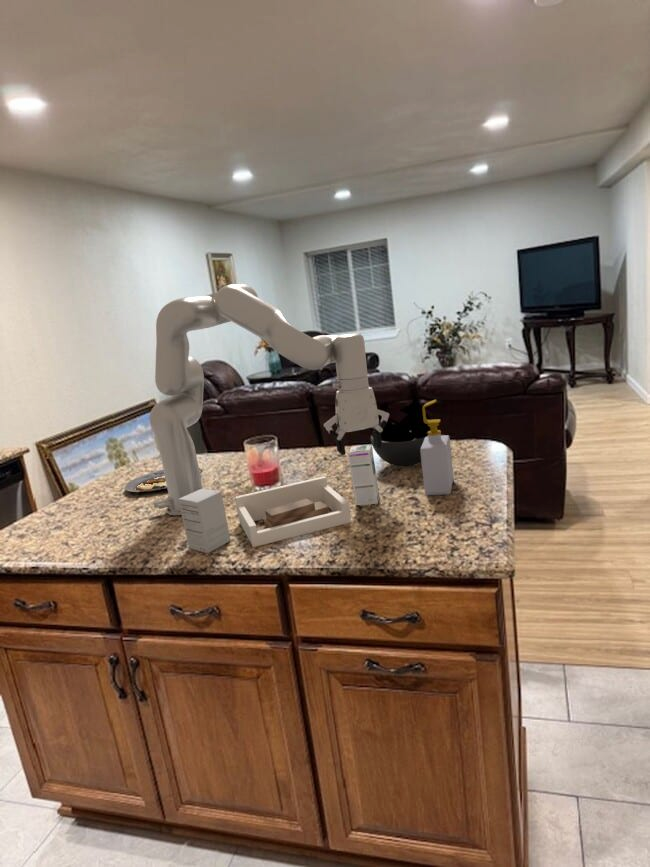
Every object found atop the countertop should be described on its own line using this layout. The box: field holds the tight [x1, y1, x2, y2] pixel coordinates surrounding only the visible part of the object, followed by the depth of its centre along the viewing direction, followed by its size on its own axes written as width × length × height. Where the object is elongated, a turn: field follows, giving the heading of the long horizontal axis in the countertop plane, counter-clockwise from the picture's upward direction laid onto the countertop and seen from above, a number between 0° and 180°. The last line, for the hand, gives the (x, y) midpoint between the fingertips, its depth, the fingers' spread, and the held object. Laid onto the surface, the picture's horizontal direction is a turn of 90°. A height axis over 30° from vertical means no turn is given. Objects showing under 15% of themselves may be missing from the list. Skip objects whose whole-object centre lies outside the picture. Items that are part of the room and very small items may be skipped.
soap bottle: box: [420, 399, 454, 496], centre depth 156 cm, size 12×7×23 cm, turn 165°
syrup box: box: [347, 444, 380, 506], centre depth 154 cm, size 6×6×14 cm
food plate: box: [124, 467, 203, 493], centre depth 200 cm, size 25×23×4 cm
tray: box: [234, 476, 352, 548], centre depth 148 cm, size 24×18×7 cm
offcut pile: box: [256, 498, 332, 531], centre depth 145 cm, size 18×6×6 cm, turn 116°
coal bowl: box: [370, 402, 432, 468], centre depth 179 cm, size 20×20×19 cm
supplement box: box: [178, 488, 232, 554], centre depth 140 cm, size 7×7×13 cm
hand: (360, 450), depth 153 cm, fingers open, 9 cm apart
